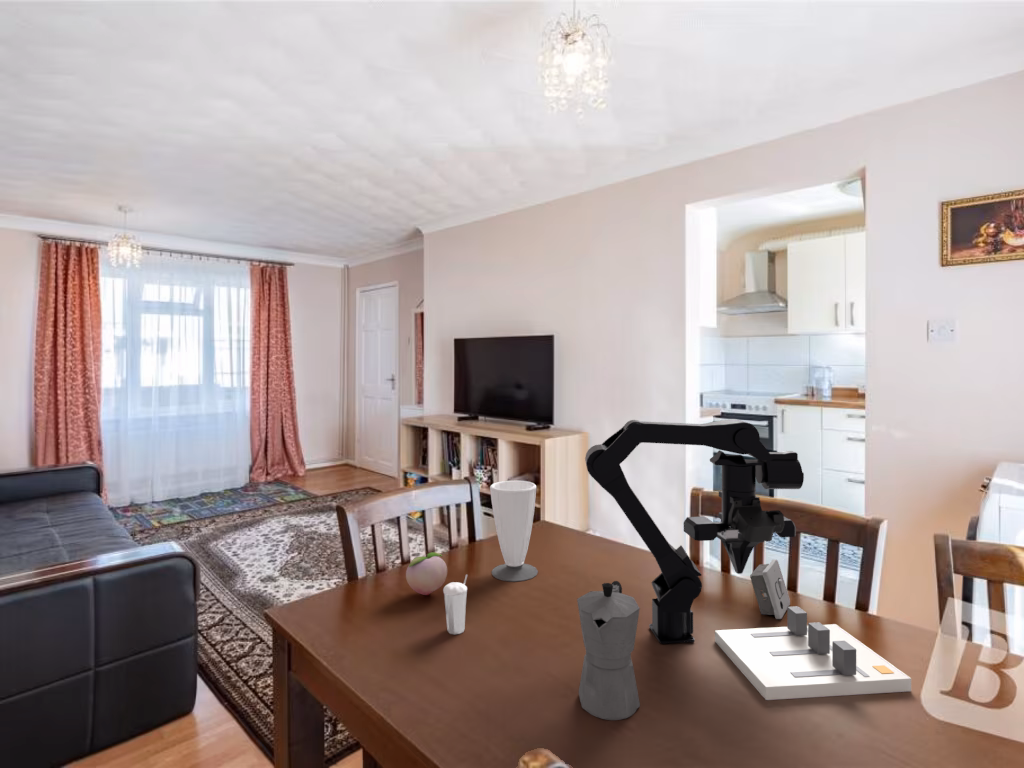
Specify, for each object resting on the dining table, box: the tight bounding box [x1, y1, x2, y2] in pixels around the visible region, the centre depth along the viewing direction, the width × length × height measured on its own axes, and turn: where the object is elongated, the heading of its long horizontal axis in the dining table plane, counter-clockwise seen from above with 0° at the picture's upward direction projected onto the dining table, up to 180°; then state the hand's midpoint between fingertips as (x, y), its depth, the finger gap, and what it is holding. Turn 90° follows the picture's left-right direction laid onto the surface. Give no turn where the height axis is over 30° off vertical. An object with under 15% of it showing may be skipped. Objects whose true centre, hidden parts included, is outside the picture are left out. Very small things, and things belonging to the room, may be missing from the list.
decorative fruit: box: [405, 550, 448, 596], centre depth 117 cm, size 9×8×10 cm
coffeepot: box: [576, 580, 641, 721], centre depth 80 cm, size 15×9×18 cm, turn 159°
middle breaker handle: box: [807, 621, 830, 654], centre depth 88 cm, size 2×3×4 cm
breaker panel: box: [714, 623, 912, 701], centre depth 88 cm, size 23×17×2 cm
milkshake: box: [442, 574, 469, 636], centre depth 102 cm, size 4×5×10 cm
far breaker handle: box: [786, 605, 808, 636], centre depth 94 cm, size 2×3×4 cm
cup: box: [489, 479, 539, 583], centre depth 129 cm, size 12×12×22 cm
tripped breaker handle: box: [832, 641, 856, 675], centre depth 82 cm, size 2×3×4 cm
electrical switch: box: [749, 559, 791, 620], centre depth 108 cm, size 9×5×9 cm, turn 141°
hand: (738, 572), depth 97 cm, fingers closed
